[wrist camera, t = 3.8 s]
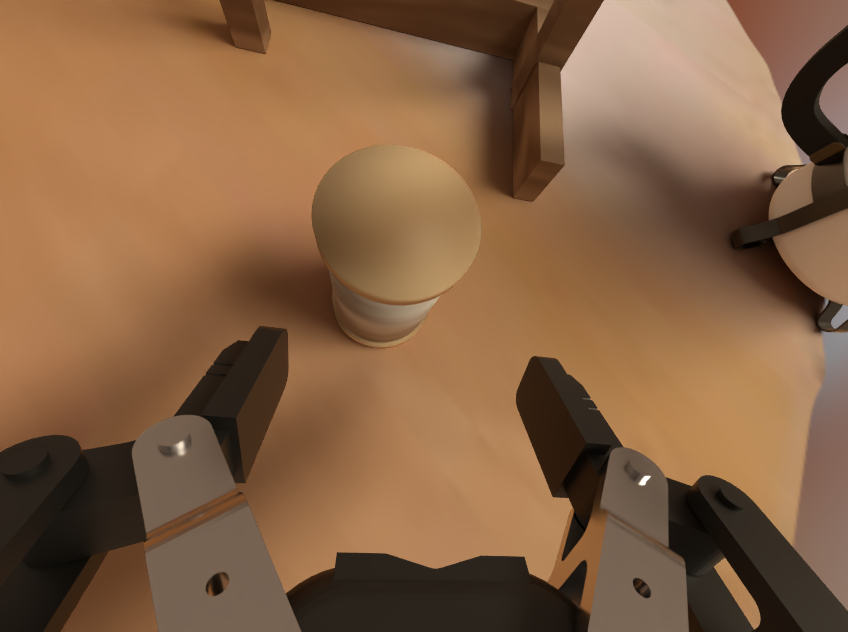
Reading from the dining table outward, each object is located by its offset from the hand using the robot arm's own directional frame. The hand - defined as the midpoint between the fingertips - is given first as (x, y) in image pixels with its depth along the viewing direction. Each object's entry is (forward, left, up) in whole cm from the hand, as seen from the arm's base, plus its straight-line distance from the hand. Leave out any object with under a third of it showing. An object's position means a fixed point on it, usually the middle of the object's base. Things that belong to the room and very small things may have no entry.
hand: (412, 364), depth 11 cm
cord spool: (-4, +2, -9) cm, 10 cm away
